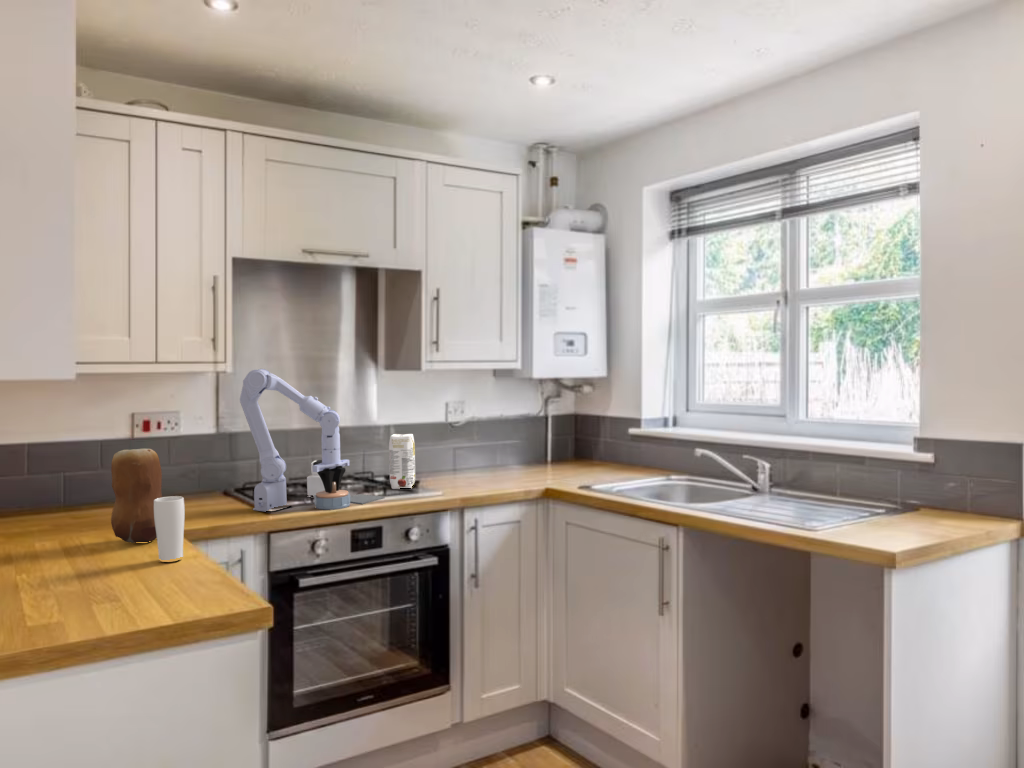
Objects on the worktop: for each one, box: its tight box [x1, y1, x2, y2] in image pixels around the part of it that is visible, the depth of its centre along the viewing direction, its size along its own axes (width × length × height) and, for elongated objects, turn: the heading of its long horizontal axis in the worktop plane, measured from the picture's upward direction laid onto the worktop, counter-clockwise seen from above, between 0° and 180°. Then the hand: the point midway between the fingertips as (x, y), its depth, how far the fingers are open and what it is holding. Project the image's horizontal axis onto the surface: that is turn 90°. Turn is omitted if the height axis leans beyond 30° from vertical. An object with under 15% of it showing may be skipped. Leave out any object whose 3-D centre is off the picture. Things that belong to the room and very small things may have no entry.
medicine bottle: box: [306, 459, 325, 496], centre depth 265 cm, size 7×7×12 cm
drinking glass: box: [154, 495, 186, 560], centre depth 186 cm, size 7×7×15 cm
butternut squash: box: [110, 448, 163, 544], centre depth 204 cm, size 14×13×25 cm
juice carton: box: [388, 433, 416, 490], centre depth 277 cm, size 8×9×19 cm
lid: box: [316, 481, 349, 498], centre depth 247 cm, size 10×10×4 cm
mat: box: [350, 493, 386, 505], centre depth 257 cm, size 11×11×1 cm
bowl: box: [313, 492, 351, 511], centre depth 247 cm, size 11×11×4 cm
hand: (332, 491), depth 247 cm, fingers closed on lid, 3 cm apart
